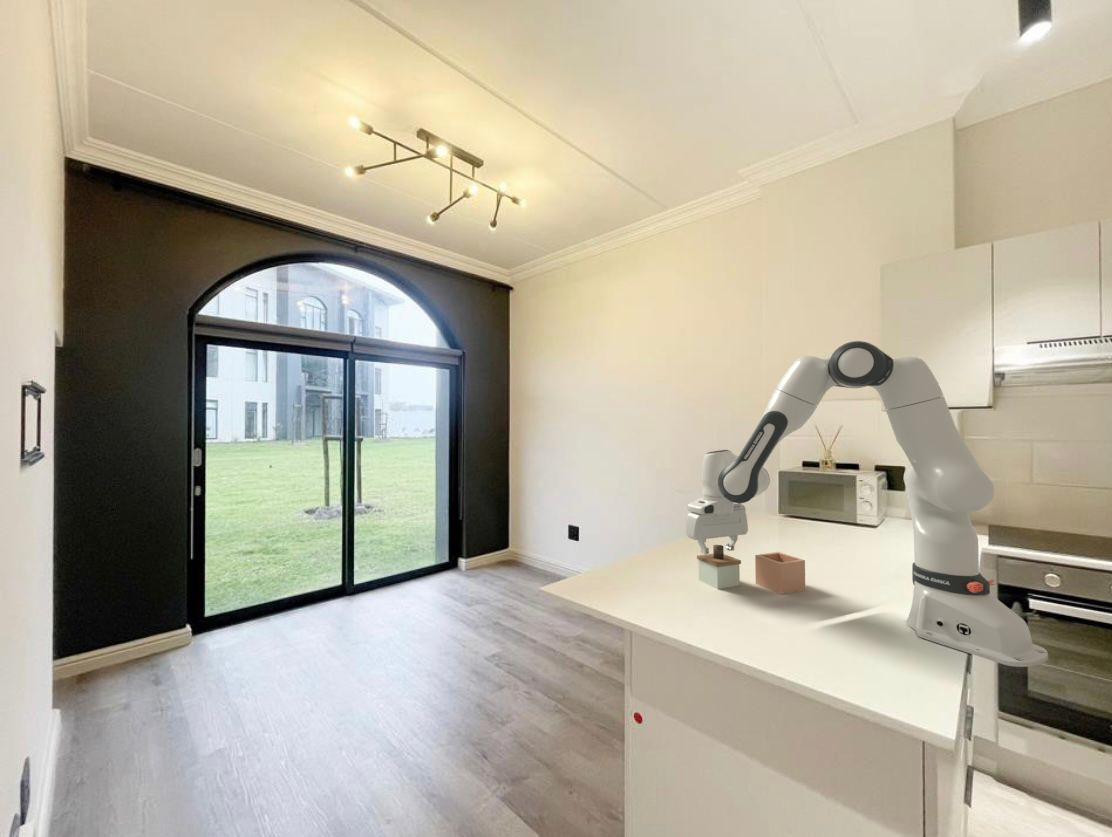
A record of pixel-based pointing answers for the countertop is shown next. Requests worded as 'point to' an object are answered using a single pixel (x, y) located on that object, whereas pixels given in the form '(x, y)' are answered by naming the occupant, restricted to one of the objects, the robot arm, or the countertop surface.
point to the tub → (719, 575)
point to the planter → (780, 572)
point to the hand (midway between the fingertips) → (717, 551)
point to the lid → (718, 558)
